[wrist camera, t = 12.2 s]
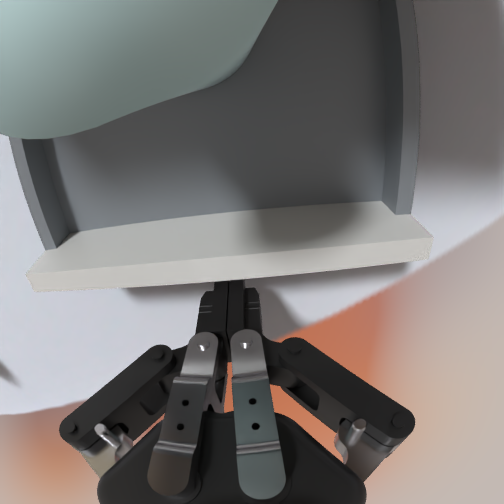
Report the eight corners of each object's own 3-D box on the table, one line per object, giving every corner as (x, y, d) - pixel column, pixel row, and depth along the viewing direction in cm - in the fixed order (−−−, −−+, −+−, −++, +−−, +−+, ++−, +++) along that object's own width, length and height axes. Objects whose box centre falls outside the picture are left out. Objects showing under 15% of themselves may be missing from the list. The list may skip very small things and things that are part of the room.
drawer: (362, -90, 5) (398, -126, 1) (385, 210, 14) (428, 259, 10) (31, -31, 5) (-21, -43, 1) (73, 241, 14) (34, 291, 11)
